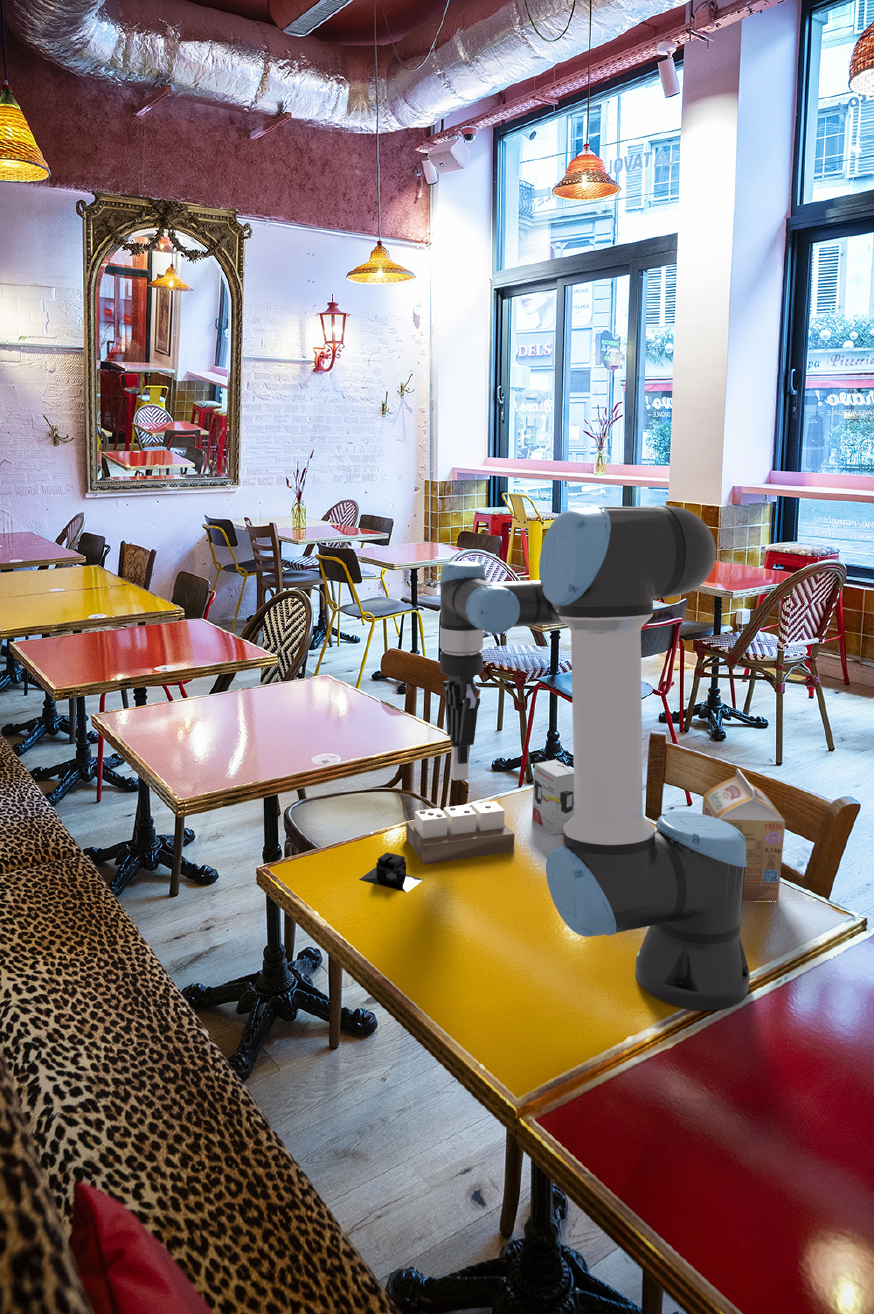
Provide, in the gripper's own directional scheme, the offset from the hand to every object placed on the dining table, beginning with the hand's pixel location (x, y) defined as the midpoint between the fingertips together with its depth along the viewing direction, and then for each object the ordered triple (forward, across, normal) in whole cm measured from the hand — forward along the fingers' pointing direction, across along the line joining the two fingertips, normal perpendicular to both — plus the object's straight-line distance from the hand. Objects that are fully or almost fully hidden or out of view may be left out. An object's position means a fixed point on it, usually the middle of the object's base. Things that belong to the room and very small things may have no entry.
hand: (459, 778), depth 171 cm
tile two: (+11, 0, 0) cm, 11 cm away
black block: (+14, -10, +16) cm, 23 cm away
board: (+13, 0, 0) cm, 13 cm away
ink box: (+13, +3, -20) cm, 25 cm away
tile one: (+11, 0, -5) cm, 12 cm away
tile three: (+11, 0, +6) cm, 12 cm away
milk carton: (+13, -30, -38) cm, 50 cm away
